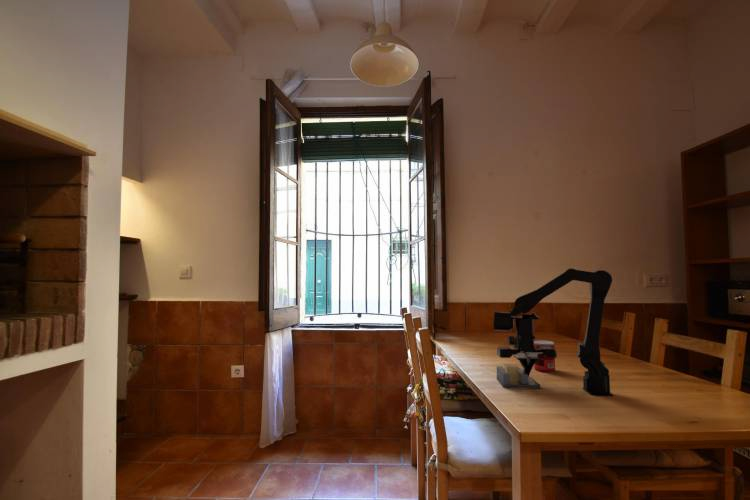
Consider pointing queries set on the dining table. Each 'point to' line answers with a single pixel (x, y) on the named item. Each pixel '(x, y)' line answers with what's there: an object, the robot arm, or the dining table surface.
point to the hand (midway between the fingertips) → (527, 377)
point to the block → (512, 372)
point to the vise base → (505, 382)
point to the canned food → (544, 358)
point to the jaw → (523, 376)
